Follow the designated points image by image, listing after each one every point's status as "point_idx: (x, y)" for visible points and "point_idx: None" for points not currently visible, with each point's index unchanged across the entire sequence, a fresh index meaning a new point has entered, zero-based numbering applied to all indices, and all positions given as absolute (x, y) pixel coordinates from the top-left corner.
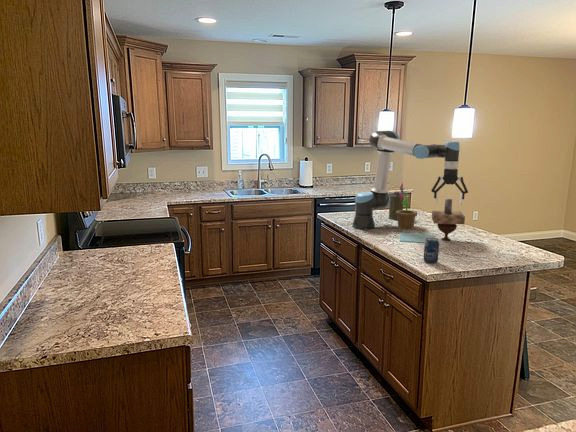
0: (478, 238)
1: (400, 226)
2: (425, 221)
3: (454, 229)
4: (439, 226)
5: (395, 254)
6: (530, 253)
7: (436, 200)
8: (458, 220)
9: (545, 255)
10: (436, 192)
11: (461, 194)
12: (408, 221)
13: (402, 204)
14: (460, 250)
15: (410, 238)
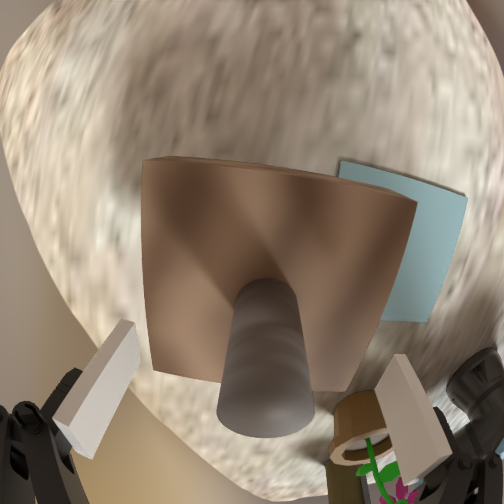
0: (120, 270)
1: None
2: (269, 452)
3: None
4: None
5: (482, 38)
6: (27, 90)
7: (417, 384)
8: (206, 161)
9: (9, 85)
10: (456, 464)
11: (66, 421)
12: (369, 409)
13: (335, 494)
14: (246, 47)
15: (425, 235)
